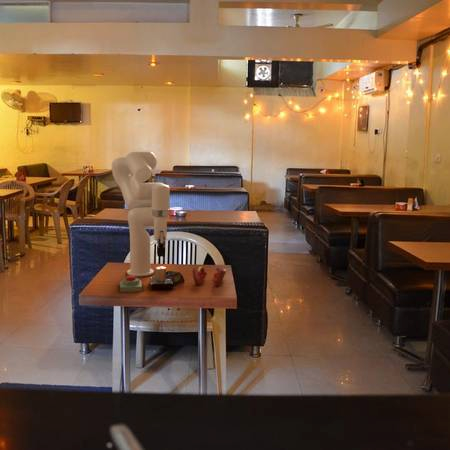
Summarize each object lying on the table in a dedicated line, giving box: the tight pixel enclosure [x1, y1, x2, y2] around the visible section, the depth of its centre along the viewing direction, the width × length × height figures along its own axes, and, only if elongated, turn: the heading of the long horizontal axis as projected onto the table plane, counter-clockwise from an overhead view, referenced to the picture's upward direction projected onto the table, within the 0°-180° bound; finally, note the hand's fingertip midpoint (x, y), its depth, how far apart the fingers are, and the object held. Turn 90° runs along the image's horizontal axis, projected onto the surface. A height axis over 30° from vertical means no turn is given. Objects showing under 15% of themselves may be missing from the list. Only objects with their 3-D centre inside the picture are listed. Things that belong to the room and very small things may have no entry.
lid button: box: [125, 275, 136, 281], centre depth 221 cm, size 4×4×2 cm
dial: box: [155, 266, 167, 281], centre depth 224 cm, size 4×4×6 cm
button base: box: [119, 277, 143, 293], centre depth 221 cm, size 10×9×4 cm
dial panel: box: [149, 276, 173, 292], centre depth 225 cm, size 11×9×3 cm
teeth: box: [192, 266, 227, 287], centre depth 232 cm, size 10×8×15 cm
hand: (160, 255), depth 223 cm, fingers closed
